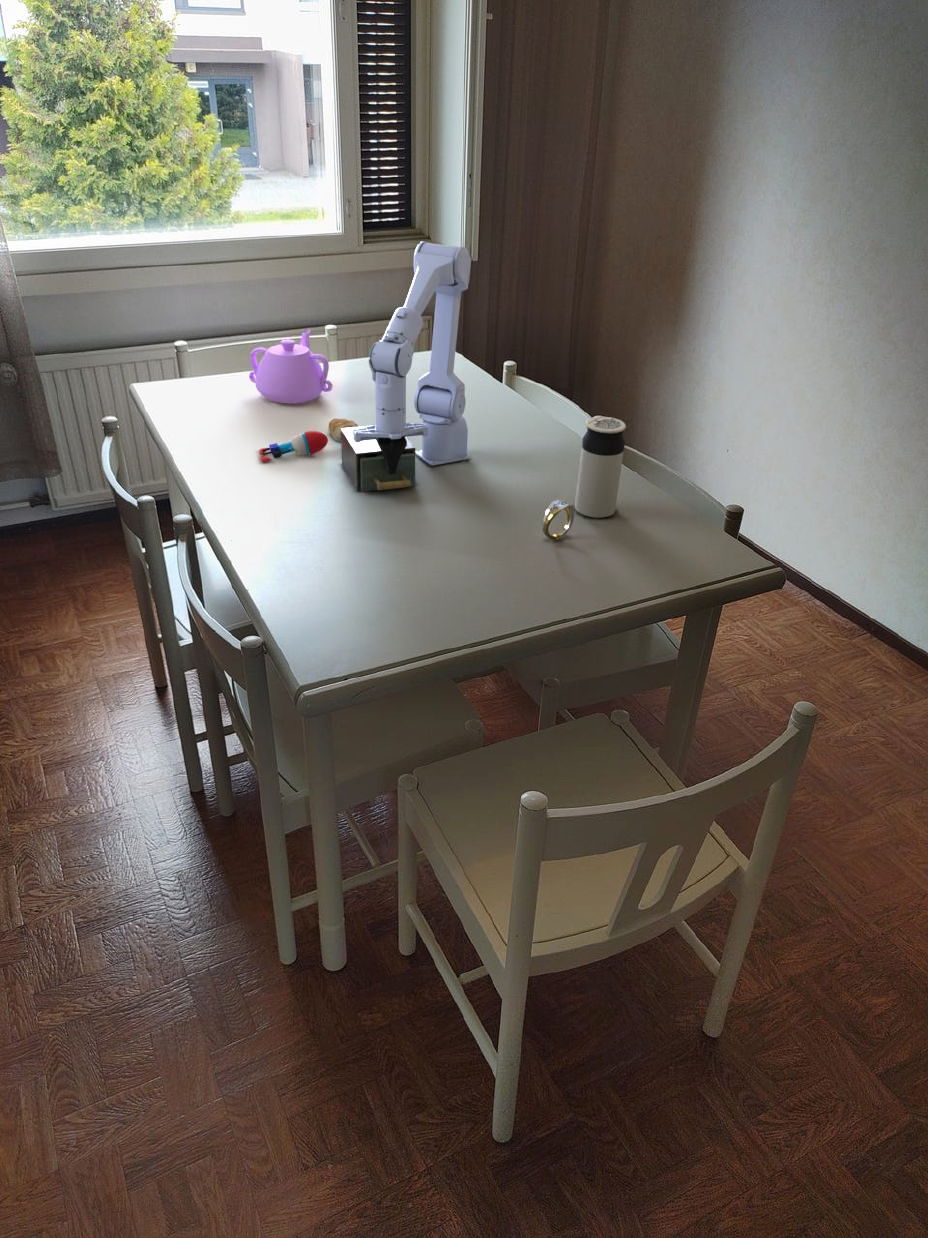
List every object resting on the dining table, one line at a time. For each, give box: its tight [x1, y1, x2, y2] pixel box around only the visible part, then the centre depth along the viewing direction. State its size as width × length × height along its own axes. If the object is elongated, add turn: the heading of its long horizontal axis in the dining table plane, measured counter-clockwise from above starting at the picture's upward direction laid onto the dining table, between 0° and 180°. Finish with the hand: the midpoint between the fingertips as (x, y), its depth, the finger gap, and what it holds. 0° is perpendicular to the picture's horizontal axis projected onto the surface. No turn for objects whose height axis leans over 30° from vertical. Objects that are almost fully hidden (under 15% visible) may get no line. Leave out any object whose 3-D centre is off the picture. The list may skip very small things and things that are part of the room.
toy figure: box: [258, 430, 329, 463], centre depth 196 cm, size 8×5×15 cm
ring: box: [541, 498, 575, 541], centre depth 167 cm, size 7×3×8 cm, turn 124°
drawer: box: [359, 451, 416, 492], centre depth 184 cm, size 17×11×7 cm, turn 19°
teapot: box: [248, 328, 333, 404], centre depth 226 cm, size 22×22×14 cm
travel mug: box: [574, 416, 627, 519], centre depth 175 cm, size 8×8×18 cm
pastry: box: [328, 418, 360, 443], centre depth 207 cm, size 9×7×4 cm
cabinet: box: [340, 425, 416, 492], centre depth 188 cm, size 14×12×8 cm
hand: (391, 472), depth 179 cm, fingers closed, pressing on drawer
